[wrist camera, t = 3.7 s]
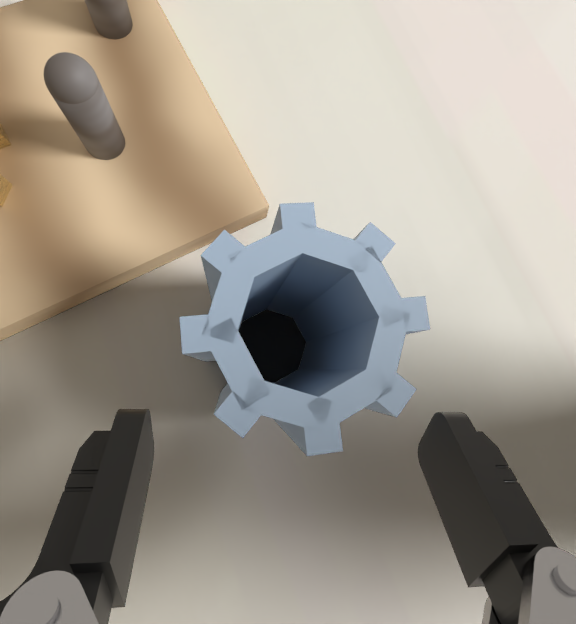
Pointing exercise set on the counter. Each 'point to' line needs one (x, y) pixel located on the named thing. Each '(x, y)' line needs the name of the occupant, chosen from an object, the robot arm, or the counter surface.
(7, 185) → the gear
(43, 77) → the gear board
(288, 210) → the pinion
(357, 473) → the counter surface
